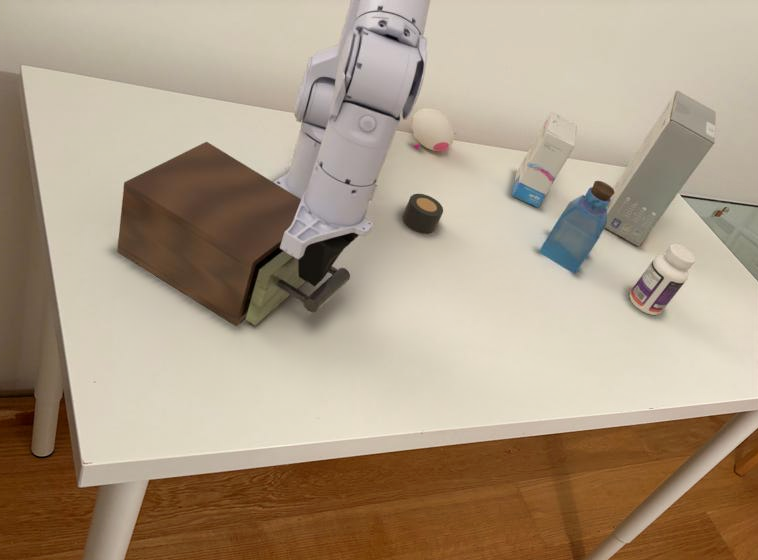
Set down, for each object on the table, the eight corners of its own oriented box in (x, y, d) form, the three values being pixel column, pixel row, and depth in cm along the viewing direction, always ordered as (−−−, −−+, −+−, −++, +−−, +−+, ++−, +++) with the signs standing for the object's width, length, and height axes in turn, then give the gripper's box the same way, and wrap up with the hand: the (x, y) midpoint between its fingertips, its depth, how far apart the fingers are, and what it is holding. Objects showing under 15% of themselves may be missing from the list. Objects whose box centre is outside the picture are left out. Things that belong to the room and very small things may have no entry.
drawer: (348, 297, 81) (367, 251, 76) (295, 350, 72) (312, 302, 68) (212, 213, 82) (223, 163, 78) (144, 256, 73) (151, 202, 69)
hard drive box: (639, 249, 117) (715, 143, 104) (597, 226, 117) (668, 118, 104) (648, 209, 129) (717, 110, 116) (610, 189, 129) (675, 87, 116)
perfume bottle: (585, 256, 109) (628, 191, 101) (575, 274, 104) (619, 207, 97) (550, 234, 110) (590, 168, 102) (538, 251, 105) (579, 184, 97)
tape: (410, 206, 100) (418, 189, 98) (440, 224, 100) (448, 207, 98) (396, 220, 97) (404, 201, 95) (426, 238, 96) (435, 220, 94)
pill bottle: (661, 302, 108) (700, 253, 102) (659, 321, 104) (700, 271, 98) (629, 285, 108) (667, 234, 102) (626, 304, 104) (664, 252, 98)
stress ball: (441, 173, 117) (469, 141, 116) (428, 157, 109) (457, 123, 108) (409, 145, 118) (436, 113, 118) (393, 127, 111) (422, 93, 110)
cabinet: (300, 271, 82) (320, 210, 77) (235, 326, 73) (253, 262, 67) (194, 205, 83) (206, 141, 78) (116, 251, 74) (123, 182, 68)
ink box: (539, 209, 114) (576, 145, 106) (510, 196, 113) (546, 130, 105) (543, 185, 120) (578, 122, 112) (516, 172, 120) (549, 108, 112)
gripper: (347, 221, 59) (306, 334, 68) (417, 163, 70) (374, 267, 79) (275, 177, 60) (243, 295, 69) (356, 126, 71) (320, 234, 80)
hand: (309, 278), depth 74 cm, fingers closed
